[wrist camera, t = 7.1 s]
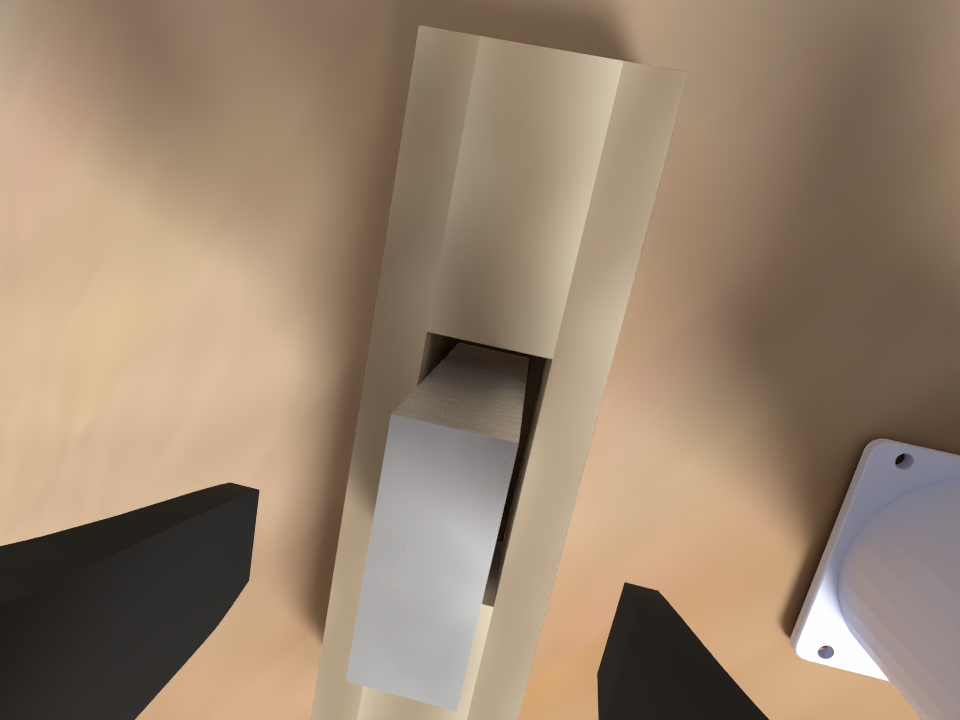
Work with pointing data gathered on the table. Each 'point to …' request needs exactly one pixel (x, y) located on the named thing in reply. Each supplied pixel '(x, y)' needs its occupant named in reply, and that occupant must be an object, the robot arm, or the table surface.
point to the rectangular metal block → (437, 525)
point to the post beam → (502, 310)
